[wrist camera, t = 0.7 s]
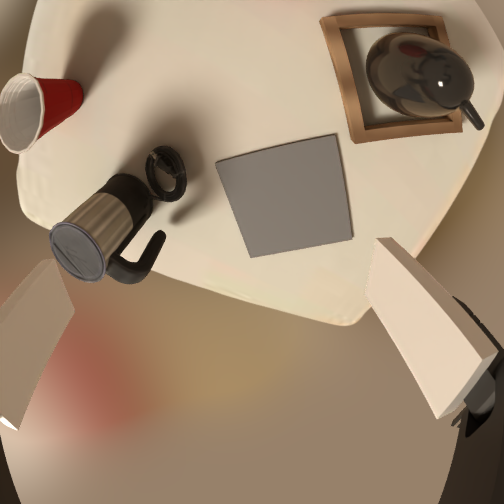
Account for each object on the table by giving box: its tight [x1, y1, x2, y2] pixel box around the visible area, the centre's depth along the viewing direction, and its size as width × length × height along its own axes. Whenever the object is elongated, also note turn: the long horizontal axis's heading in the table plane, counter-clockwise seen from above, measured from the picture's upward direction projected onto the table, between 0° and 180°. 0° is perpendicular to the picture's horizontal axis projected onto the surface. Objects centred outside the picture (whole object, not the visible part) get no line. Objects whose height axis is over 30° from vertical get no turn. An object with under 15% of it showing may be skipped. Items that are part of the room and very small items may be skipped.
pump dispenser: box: [366, 32, 485, 130], centre depth 19 cm, size 10×10×15 cm
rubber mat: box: [215, 135, 352, 258], centre depth 38 cm, size 16×16×1 cm
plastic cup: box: [0, 73, 83, 154], centre depth 26 cm, size 11×11×12 cm
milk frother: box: [49, 146, 187, 284], centre depth 33 cm, size 14×16×15 cm
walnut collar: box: [319, 13, 463, 144], centre depth 24 cm, size 16×16×2 cm
